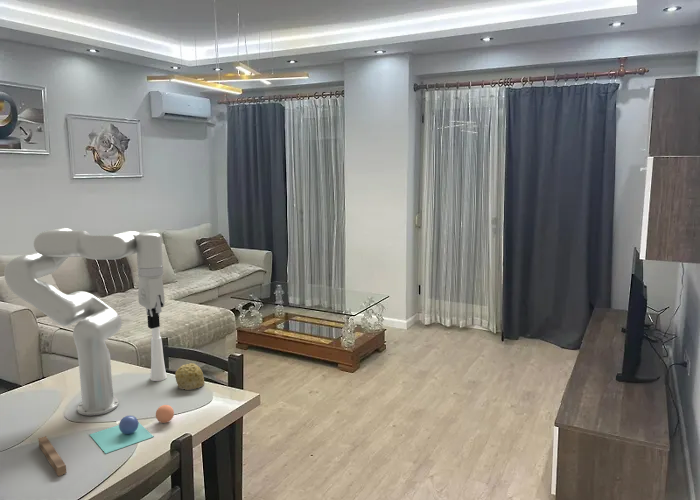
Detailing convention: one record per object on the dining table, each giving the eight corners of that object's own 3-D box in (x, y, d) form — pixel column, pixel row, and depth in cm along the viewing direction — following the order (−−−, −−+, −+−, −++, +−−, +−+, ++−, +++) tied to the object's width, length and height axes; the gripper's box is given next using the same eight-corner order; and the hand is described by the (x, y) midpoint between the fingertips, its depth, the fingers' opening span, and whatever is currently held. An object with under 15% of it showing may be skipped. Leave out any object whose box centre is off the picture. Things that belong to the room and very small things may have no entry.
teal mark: (89, 435, 163) (89, 434, 163) (135, 420, 173) (135, 419, 172) (105, 453, 153) (105, 453, 153) (153, 437, 162) (153, 436, 162)
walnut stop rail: (39, 446, 157) (38, 438, 156) (46, 443, 158) (45, 436, 158) (58, 476, 142) (57, 467, 142) (66, 473, 144) (65, 465, 143)
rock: (190, 401, 194) (203, 379, 192) (165, 384, 195) (178, 362, 193) (202, 392, 203) (214, 370, 202) (177, 375, 204) (190, 354, 202)
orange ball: (167, 400, 174) (169, 415, 175) (151, 406, 170) (153, 422, 172) (176, 405, 170) (177, 421, 172) (160, 412, 167) (161, 428, 168)
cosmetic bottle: (153, 374, 208) (150, 320, 204) (169, 375, 208) (166, 320, 204) (147, 381, 202) (143, 325, 198) (163, 381, 202) (160, 325, 198)
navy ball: (138, 421, 169) (122, 434, 166) (128, 409, 166) (113, 421, 163) (144, 428, 164) (128, 440, 162) (135, 415, 162) (119, 428, 159)
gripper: (129, 269, 173) (133, 324, 176) (148, 277, 162) (151, 335, 166) (152, 266, 178) (155, 319, 181) (172, 274, 167) (175, 330, 171)
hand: (153, 327), depth 173 cm, fingers closed
